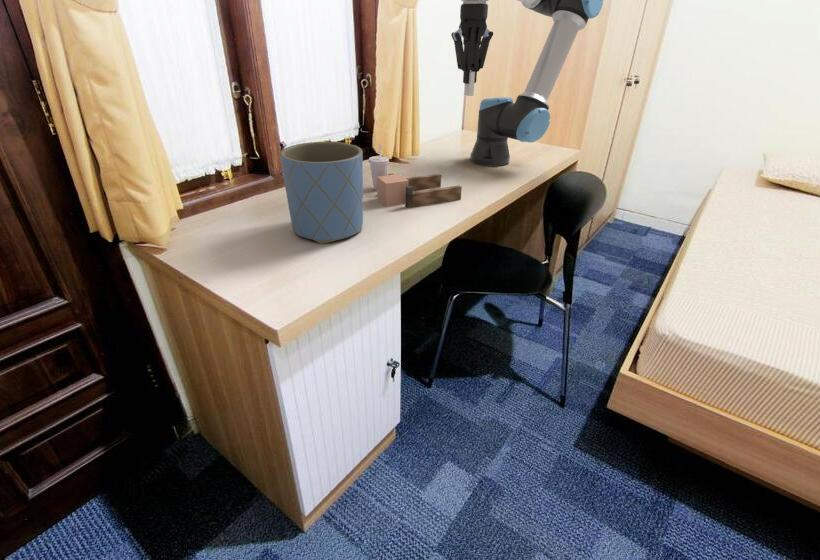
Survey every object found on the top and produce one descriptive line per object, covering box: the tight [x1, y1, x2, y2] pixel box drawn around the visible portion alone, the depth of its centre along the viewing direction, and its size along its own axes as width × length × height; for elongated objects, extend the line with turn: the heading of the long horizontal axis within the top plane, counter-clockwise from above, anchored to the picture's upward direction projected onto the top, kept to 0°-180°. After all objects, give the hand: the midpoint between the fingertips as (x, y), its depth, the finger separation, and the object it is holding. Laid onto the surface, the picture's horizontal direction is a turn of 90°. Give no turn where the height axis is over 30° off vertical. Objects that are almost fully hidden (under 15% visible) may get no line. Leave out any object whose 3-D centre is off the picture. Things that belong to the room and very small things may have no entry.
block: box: [376, 173, 408, 208], centre depth 129 cm, size 7×7×7 cm
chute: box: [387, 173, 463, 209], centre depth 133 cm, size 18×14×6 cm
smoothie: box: [368, 144, 390, 192], centre depth 136 cm, size 6×6×14 cm
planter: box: [279, 141, 364, 245], centre depth 107 cm, size 19×19×20 cm
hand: (468, 95), depth 131 cm, fingers closed
